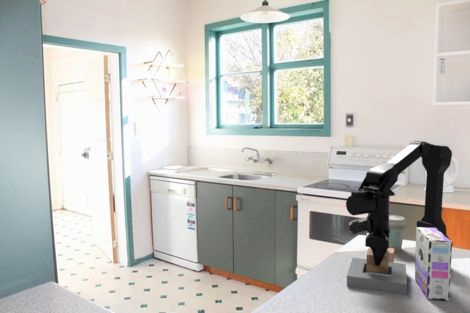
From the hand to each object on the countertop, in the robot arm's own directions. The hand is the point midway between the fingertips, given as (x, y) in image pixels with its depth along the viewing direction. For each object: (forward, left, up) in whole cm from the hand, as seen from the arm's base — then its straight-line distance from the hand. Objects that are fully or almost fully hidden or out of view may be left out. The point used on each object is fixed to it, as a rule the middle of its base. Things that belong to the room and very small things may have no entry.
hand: (377, 261), depth 117 cm
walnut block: (0, 0, -2) cm, 2 cm away
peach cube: (-2, -14, -6) cm, 15 cm away
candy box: (-14, +2, -6) cm, 16 cm away
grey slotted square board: (0, 0, -5) cm, 5 cm away
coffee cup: (-4, -31, -6) cm, 32 cm away
